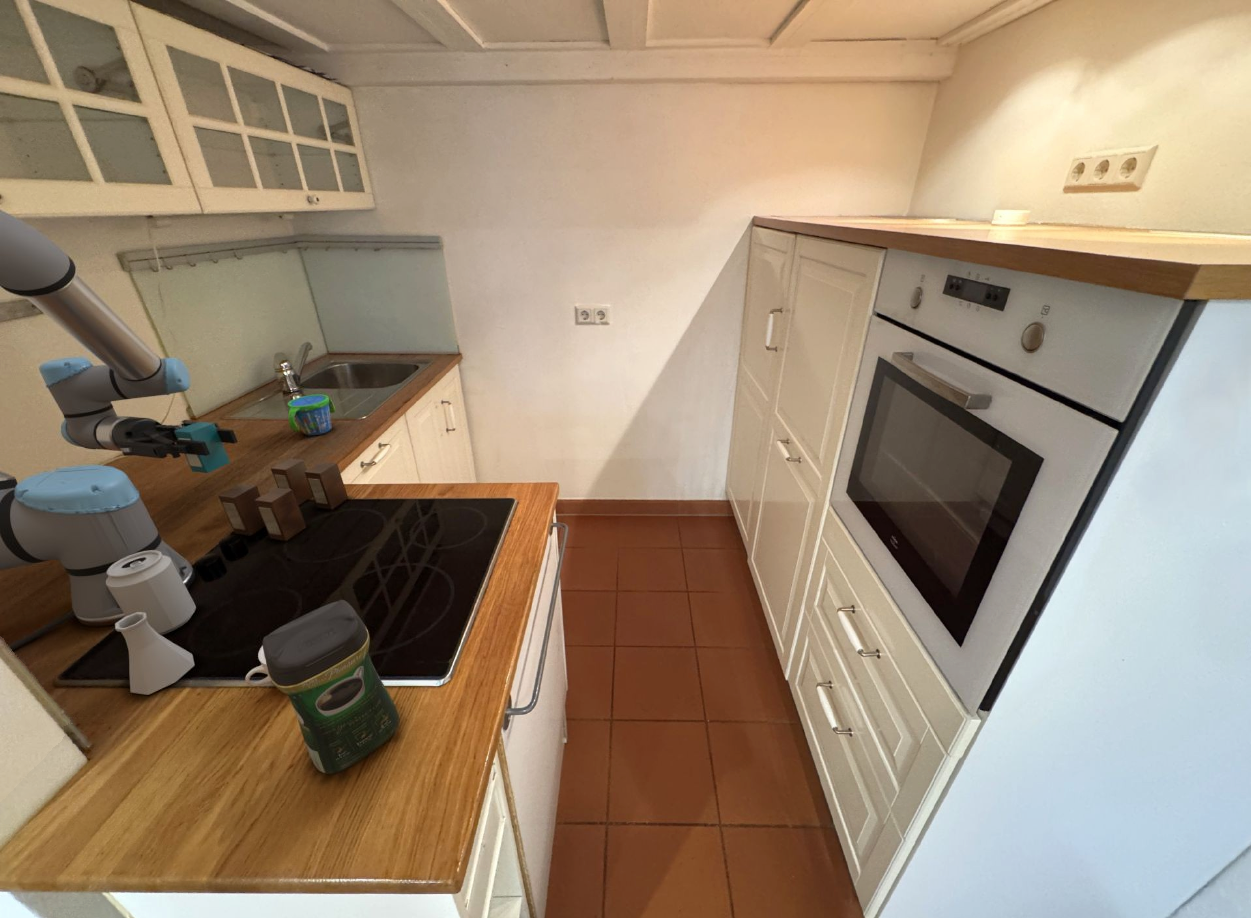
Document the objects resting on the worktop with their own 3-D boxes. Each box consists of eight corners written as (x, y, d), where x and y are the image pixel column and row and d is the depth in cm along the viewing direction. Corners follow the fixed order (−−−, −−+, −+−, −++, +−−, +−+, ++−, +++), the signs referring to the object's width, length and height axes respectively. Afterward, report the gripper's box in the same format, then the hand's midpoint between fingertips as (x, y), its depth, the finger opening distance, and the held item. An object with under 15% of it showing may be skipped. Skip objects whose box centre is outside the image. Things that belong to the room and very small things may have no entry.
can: (189, 599, 84) (157, 541, 79) (205, 617, 80) (173, 556, 75) (131, 626, 79) (93, 566, 74) (146, 647, 75) (107, 584, 70)
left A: (249, 536, 101) (232, 498, 97) (234, 534, 102) (216, 496, 98) (271, 522, 106) (256, 485, 102) (256, 520, 106) (240, 483, 102)
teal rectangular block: (206, 473, 101) (188, 432, 97) (191, 472, 101) (172, 431, 98) (230, 462, 105) (214, 422, 101) (215, 461, 106) (198, 421, 102)
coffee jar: (383, 693, 66) (345, 583, 58) (409, 731, 61) (370, 617, 53) (303, 743, 60) (247, 628, 52) (323, 790, 55) (265, 671, 47)
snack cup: (309, 443, 143) (298, 410, 138) (282, 440, 146) (270, 407, 141) (352, 423, 156) (342, 392, 152) (325, 421, 159) (316, 390, 155)
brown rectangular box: (297, 505, 111) (284, 470, 107) (283, 504, 112) (269, 468, 108) (316, 494, 116) (303, 459, 112) (301, 492, 117) (289, 458, 113)
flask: (119, 683, 69) (82, 629, 65) (180, 647, 75) (150, 595, 70) (144, 704, 66) (107, 649, 62) (205, 664, 72) (176, 611, 67)
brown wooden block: (285, 541, 99) (269, 502, 95) (269, 539, 100) (253, 500, 96) (306, 527, 103) (292, 489, 99) (290, 525, 104) (276, 487, 100)
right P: (331, 510, 109) (318, 473, 105) (316, 508, 110) (303, 472, 106) (348, 498, 114) (337, 463, 110) (333, 496, 115) (322, 461, 111)
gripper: (184, 434, 114) (266, 441, 109) (91, 470, 99) (181, 480, 93) (170, 403, 111) (253, 409, 106) (71, 435, 95) (164, 444, 90)
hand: (219, 442), depth 100 cm, fingers closed on teal rectangular block, 5 cm apart
